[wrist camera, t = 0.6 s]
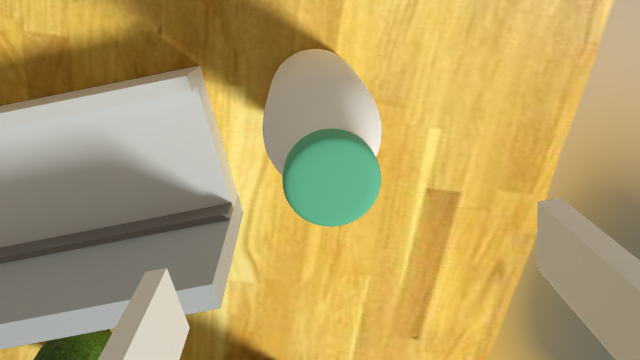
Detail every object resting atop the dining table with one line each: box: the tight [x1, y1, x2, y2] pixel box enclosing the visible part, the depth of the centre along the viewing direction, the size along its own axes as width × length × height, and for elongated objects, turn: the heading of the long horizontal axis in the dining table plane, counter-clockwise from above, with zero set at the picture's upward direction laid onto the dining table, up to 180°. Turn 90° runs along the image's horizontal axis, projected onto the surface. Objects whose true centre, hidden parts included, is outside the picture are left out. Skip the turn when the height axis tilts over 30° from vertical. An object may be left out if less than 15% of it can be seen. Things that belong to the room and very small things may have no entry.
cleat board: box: [0, 66, 243, 349], centre depth 34 cm, size 24×14×14 cm, turn 101°
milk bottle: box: [263, 49, 381, 226], centre depth 29 cm, size 8×8×20 cm
